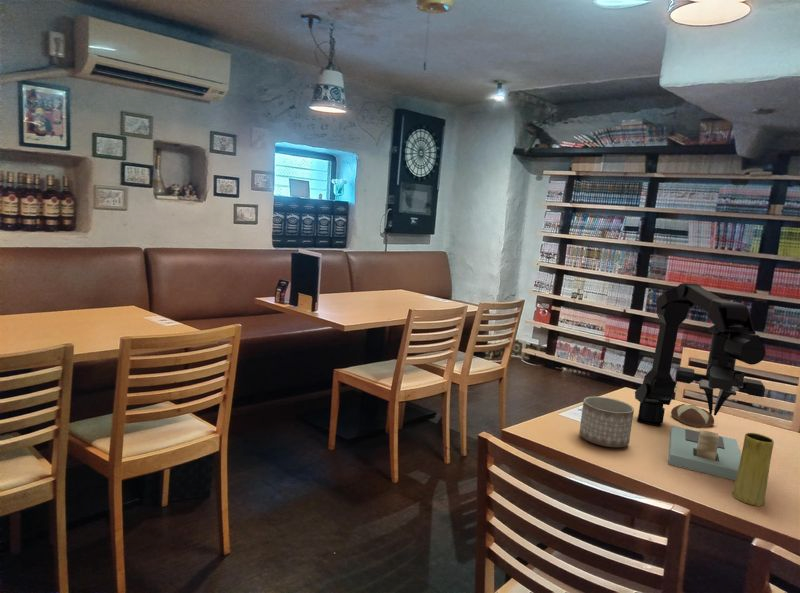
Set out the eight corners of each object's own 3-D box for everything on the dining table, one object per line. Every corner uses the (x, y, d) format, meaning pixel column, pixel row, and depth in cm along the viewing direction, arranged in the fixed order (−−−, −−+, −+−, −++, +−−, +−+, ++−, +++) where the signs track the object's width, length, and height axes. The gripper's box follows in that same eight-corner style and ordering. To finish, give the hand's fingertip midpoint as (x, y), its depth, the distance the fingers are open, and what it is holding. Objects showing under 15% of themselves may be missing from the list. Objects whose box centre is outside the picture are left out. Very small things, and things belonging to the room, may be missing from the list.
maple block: (695, 464, 135) (700, 434, 133) (695, 459, 138) (700, 429, 137) (713, 469, 133) (719, 438, 132) (712, 463, 136) (718, 433, 135)
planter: (576, 429, 153) (581, 393, 151) (623, 435, 150) (628, 400, 149) (581, 446, 140) (587, 408, 139) (633, 454, 138) (638, 415, 137)
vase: (765, 509, 115) (777, 445, 112) (731, 499, 118) (742, 437, 116) (763, 498, 120) (775, 437, 118) (731, 489, 123) (742, 429, 121)
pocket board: (668, 463, 134) (670, 453, 133) (670, 433, 155) (671, 424, 155) (743, 482, 127) (745, 471, 126) (734, 448, 148) (736, 438, 147)
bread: (688, 428, 161) (691, 412, 160) (664, 414, 172) (666, 399, 171) (721, 429, 163) (724, 413, 162) (695, 415, 174) (698, 400, 173)
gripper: (680, 352, 129) (670, 415, 131) (773, 367, 120) (761, 434, 122) (680, 344, 138) (671, 402, 141) (766, 358, 130) (755, 420, 132)
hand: (712, 414), depth 134 cm, fingers closed
